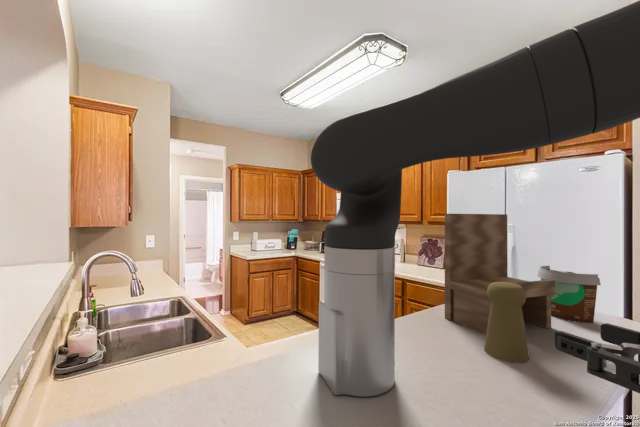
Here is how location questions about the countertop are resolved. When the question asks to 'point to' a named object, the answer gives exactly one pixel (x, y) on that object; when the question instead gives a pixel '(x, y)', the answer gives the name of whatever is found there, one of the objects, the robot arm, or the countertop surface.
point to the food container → (572, 294)
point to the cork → (506, 323)
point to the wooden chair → (485, 272)
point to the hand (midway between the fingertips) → (580, 335)
